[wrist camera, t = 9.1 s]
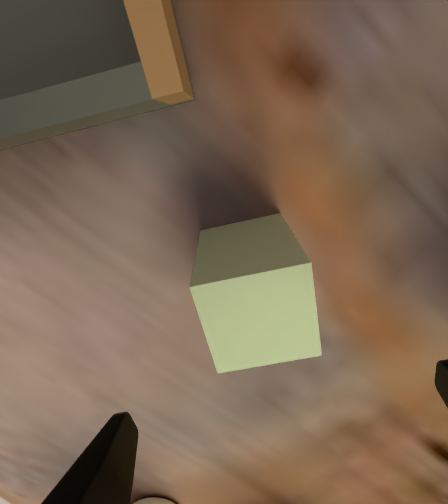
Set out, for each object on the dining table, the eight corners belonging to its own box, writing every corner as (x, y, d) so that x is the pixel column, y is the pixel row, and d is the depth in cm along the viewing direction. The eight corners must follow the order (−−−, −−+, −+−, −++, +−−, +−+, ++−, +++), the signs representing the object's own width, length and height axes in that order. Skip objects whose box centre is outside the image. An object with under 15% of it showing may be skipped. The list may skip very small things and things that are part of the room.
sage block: (279, 212, 16) (311, 262, 10) (290, 282, 17) (321, 355, 12) (200, 230, 16) (189, 287, 11) (219, 296, 18) (217, 373, 12)
